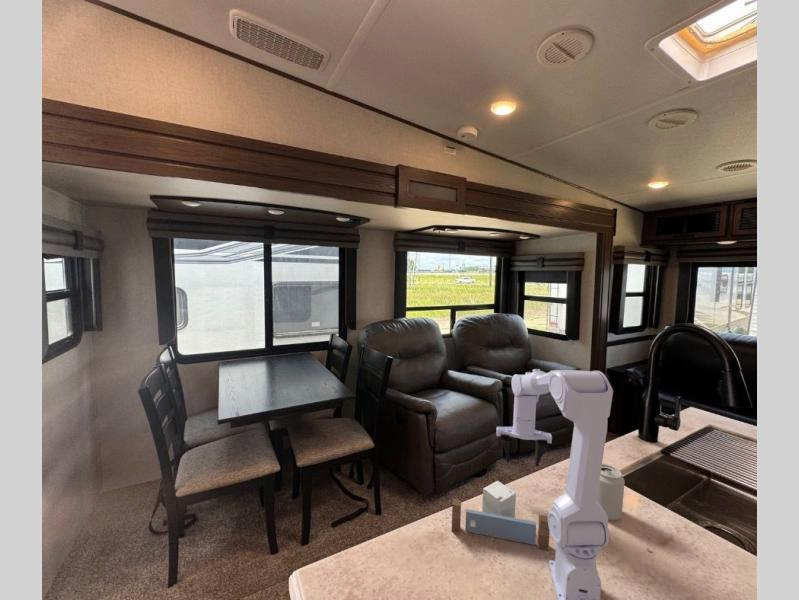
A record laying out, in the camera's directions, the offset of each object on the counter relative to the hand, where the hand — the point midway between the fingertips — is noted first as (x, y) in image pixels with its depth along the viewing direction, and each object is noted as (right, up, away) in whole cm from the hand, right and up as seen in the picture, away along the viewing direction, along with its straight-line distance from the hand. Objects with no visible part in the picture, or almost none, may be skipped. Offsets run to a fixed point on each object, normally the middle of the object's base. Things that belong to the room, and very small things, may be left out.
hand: (521, 462), depth 92 cm
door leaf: (-11, -11, -15) cm, 21 cm away
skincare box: (-9, -11, -8) cm, 16 cm away
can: (+20, -11, -5) cm, 24 cm away
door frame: (-11, -11, -14) cm, 21 cm away
